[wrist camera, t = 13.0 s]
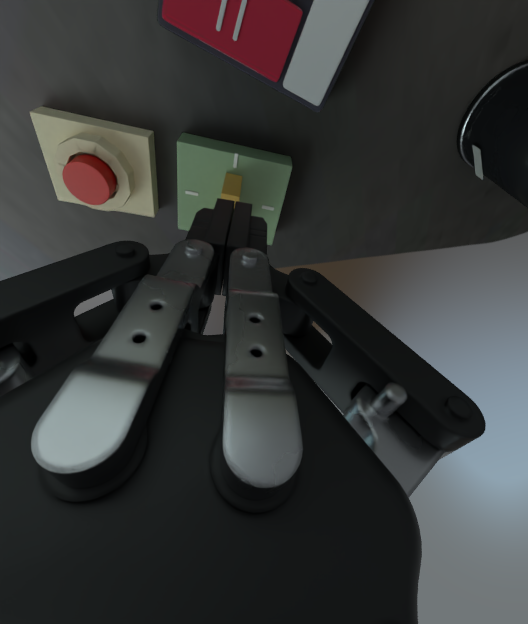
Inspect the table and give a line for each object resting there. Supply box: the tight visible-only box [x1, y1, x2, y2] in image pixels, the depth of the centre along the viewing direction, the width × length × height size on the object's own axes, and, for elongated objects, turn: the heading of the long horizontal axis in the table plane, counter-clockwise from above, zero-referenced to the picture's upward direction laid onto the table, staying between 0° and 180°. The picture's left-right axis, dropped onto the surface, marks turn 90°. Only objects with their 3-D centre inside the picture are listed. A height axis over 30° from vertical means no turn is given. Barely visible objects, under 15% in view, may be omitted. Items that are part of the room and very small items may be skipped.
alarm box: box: [30, 106, 159, 217], centre depth 32 cm, size 11×9×4 cm
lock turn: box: [221, 173, 242, 208], centre depth 31 cm, size 6×2×5 cm, turn 168°
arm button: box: [62, 154, 116, 205], centre depth 30 cm, size 4×4×2 cm
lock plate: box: [177, 133, 292, 245], centre depth 34 cm, size 12×10×3 cm
